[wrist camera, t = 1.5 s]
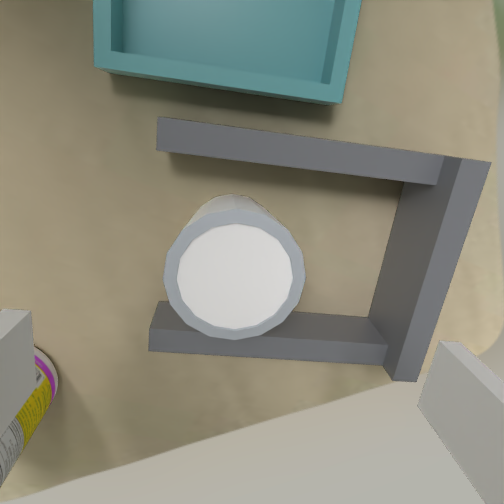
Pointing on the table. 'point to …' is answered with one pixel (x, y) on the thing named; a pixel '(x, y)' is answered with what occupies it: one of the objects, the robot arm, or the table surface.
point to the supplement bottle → (28, 414)
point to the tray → (231, 44)
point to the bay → (394, 264)
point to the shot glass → (234, 270)
